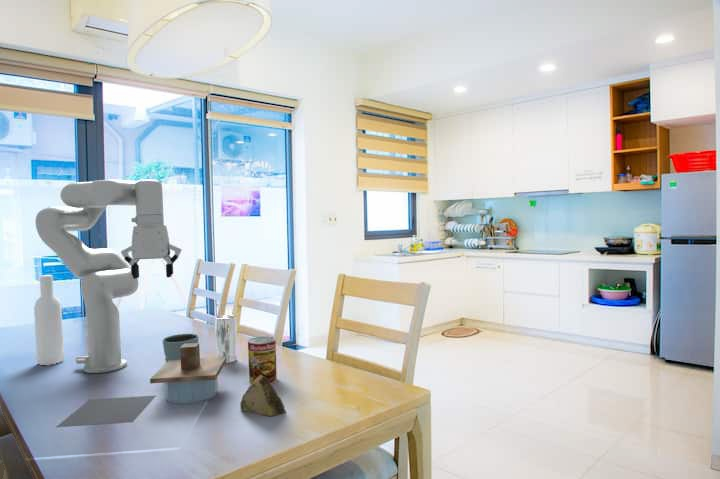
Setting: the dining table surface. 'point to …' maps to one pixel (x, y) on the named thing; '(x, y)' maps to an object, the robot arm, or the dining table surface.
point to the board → (108, 411)
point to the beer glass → (226, 336)
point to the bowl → (190, 391)
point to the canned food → (262, 358)
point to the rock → (262, 398)
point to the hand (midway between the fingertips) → (152, 277)
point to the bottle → (48, 325)
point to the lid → (189, 367)
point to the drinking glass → (177, 345)
